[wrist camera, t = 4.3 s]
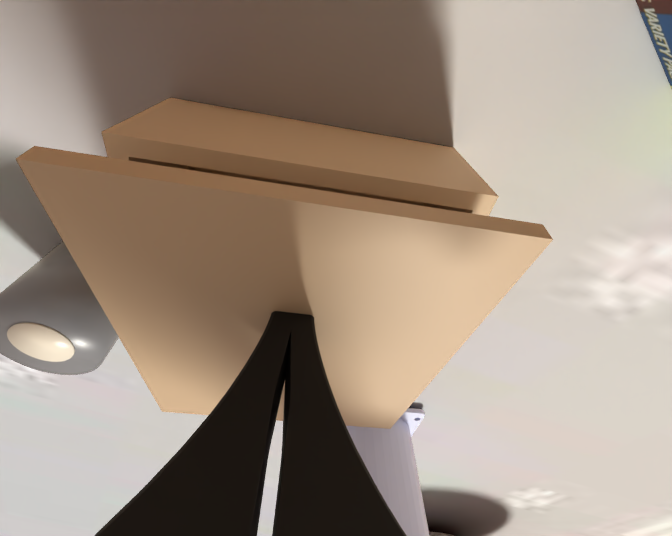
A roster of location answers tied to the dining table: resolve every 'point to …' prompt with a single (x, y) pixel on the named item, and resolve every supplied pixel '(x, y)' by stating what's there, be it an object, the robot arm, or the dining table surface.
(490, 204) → the cardboard box
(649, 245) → the dining table surface
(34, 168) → the box lid
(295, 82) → the dining table surface
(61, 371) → the dimpled grey cylinder
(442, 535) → the ceramic bowl
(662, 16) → the protein box
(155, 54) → the dining table surface
